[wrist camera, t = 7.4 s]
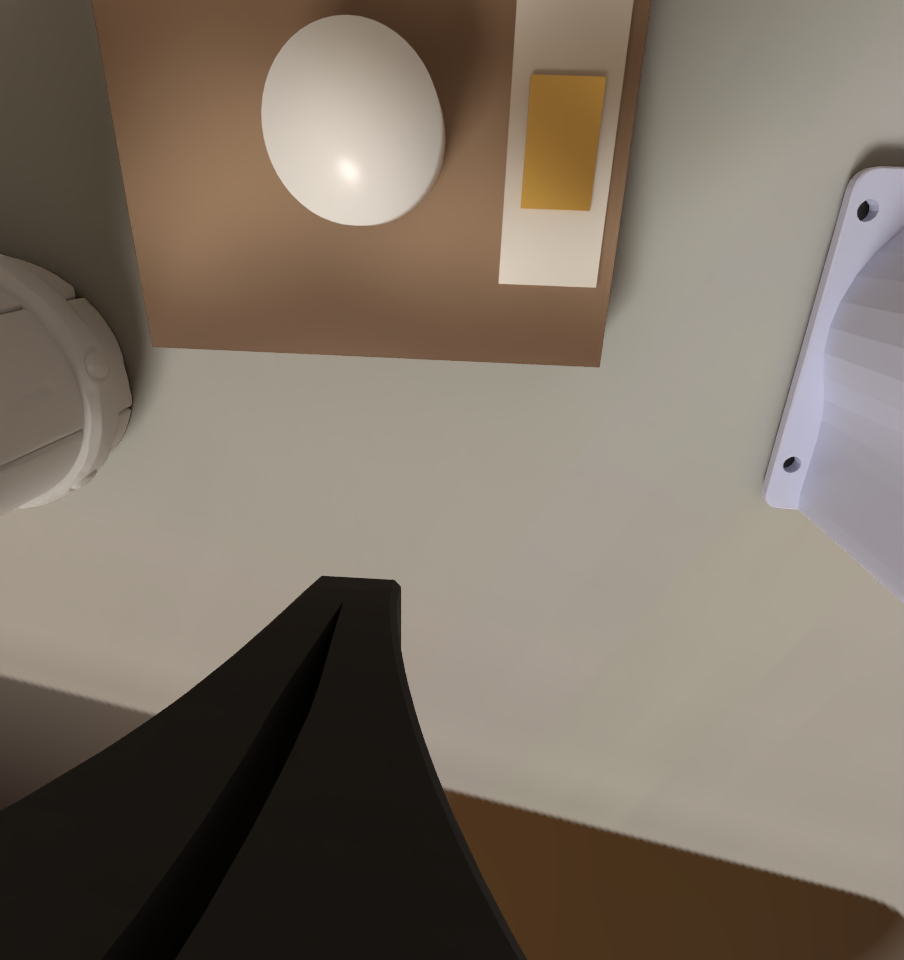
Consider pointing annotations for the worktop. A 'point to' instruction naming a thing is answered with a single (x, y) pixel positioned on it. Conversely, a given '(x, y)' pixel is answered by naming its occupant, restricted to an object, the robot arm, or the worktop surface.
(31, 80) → the worktop surface
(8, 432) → the mug
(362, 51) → the button
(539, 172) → the button board
